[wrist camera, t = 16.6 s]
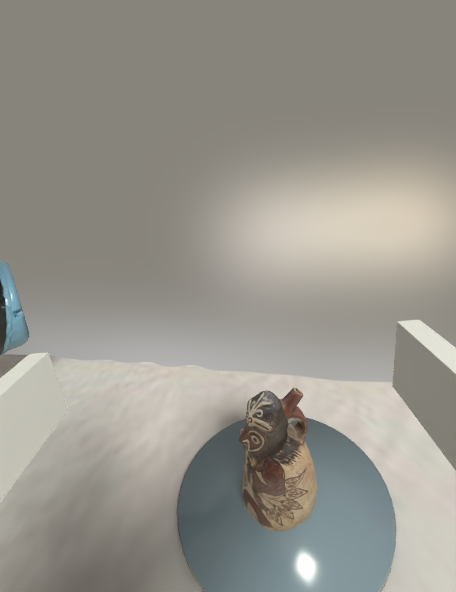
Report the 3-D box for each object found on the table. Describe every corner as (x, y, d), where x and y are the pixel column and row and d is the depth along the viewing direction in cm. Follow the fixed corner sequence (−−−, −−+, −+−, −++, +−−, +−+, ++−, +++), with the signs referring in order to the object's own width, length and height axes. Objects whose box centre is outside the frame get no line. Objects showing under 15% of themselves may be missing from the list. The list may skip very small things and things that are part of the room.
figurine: (238, 466, 34) (224, 375, 29) (303, 454, 34) (300, 363, 30) (248, 539, 28) (232, 438, 23) (329, 524, 28) (330, 421, 23)
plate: (141, 506, 33) (138, 498, 32) (268, 398, 45) (268, 391, 44) (310, 739, 19) (309, 731, 18) (430, 492, 31) (432, 483, 30)
